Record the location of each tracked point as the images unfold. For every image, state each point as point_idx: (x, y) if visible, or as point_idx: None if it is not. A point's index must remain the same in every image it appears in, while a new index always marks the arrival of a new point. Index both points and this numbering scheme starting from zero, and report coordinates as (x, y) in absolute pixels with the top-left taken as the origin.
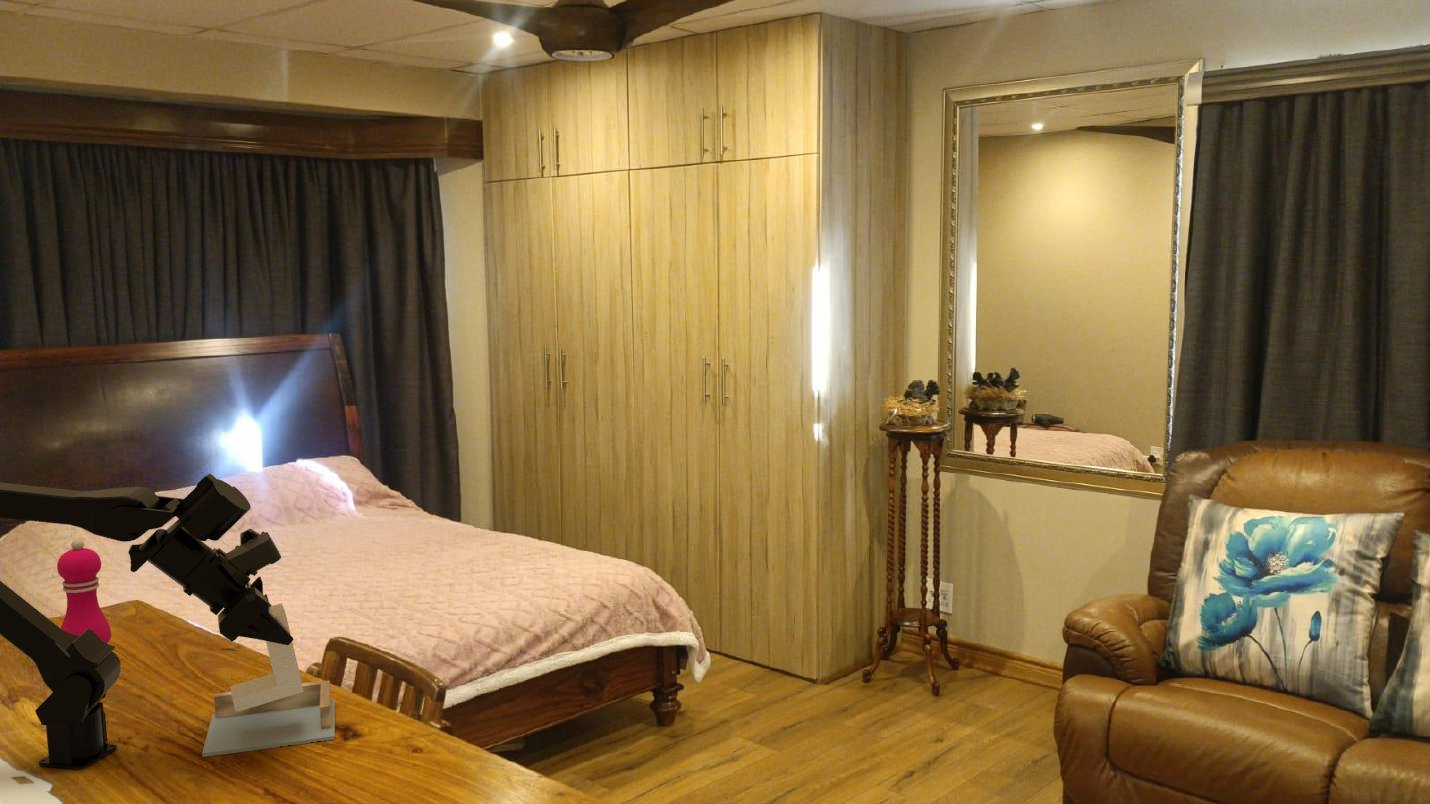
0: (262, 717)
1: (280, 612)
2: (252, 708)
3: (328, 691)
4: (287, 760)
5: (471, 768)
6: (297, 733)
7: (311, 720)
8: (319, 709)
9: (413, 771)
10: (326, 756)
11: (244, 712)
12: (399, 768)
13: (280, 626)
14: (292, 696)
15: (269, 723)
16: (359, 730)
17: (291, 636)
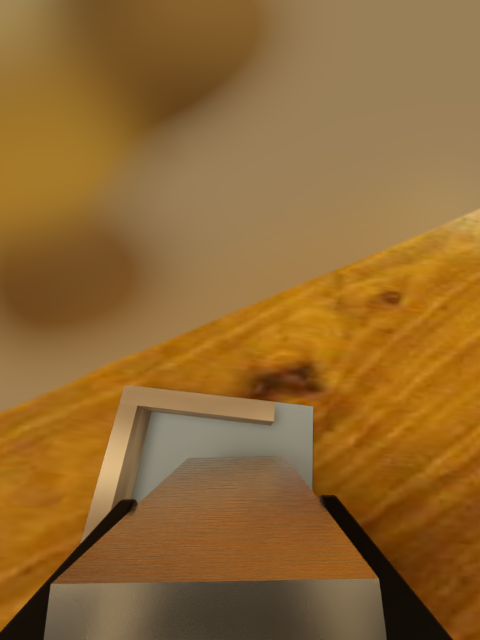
0: None
1: (306, 626)
2: None
3: (190, 394)
4: (380, 503)
5: (469, 249)
6: None
7: (220, 439)
8: (172, 418)
9: (467, 313)
10: (380, 429)
11: None
12: (453, 329)
13: (425, 610)
14: (128, 469)
15: None
16: (285, 363)
17: (344, 507)
